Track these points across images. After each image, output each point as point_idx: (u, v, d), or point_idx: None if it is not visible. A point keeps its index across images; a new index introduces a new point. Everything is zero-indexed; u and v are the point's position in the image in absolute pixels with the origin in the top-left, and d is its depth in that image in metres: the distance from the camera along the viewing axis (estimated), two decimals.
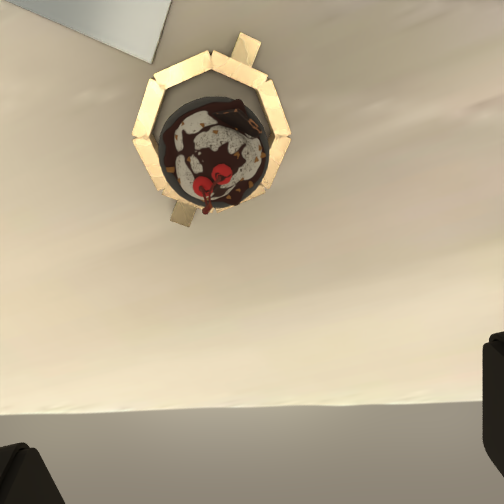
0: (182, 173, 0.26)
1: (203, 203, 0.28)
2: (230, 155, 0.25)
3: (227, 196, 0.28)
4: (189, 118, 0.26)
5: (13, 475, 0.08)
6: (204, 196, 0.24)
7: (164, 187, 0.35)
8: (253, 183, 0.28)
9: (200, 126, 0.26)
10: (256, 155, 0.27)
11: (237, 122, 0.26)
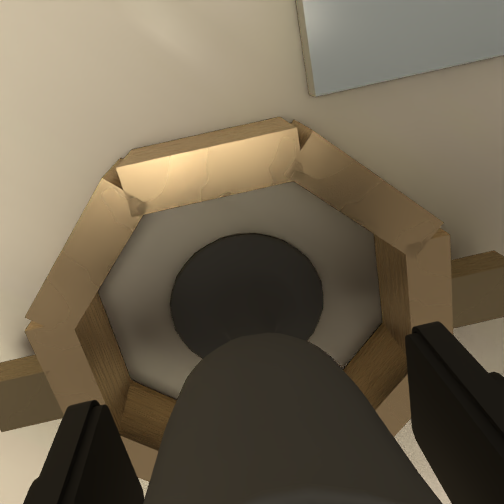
0: None
1: None
2: None
3: None
4: None
5: (92, 426, 0.09)
6: None
7: (47, 326, 0.12)
8: None
9: None
10: None
11: None
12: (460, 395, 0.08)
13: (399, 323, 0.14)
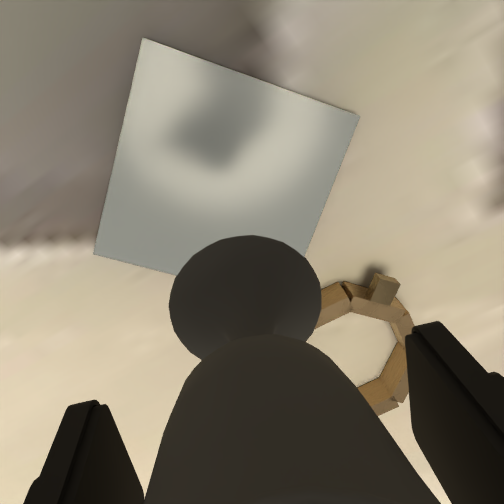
0: None
1: None
2: None
3: None
4: None
5: (92, 426, 0.09)
6: None
7: None
8: None
9: None
10: None
11: None
12: (460, 395, 0.08)
13: None
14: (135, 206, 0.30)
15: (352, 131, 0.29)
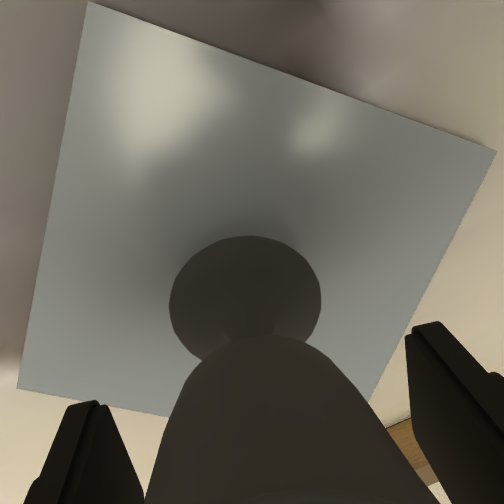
0: None
1: None
2: None
3: None
4: None
5: (92, 426, 0.09)
6: None
7: None
8: None
9: None
10: None
11: None
12: (460, 395, 0.08)
13: None
14: (87, 311, 0.17)
15: (480, 178, 0.16)
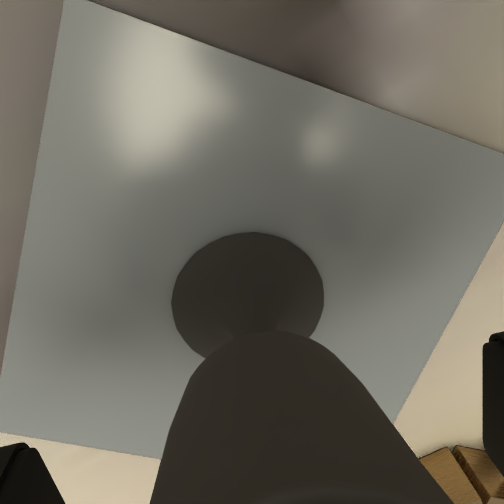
0: None
1: None
2: None
3: None
4: None
5: (13, 475, 0.08)
6: None
7: None
8: None
9: None
10: None
11: None
12: None
13: None
14: (70, 345, 0.15)
15: None
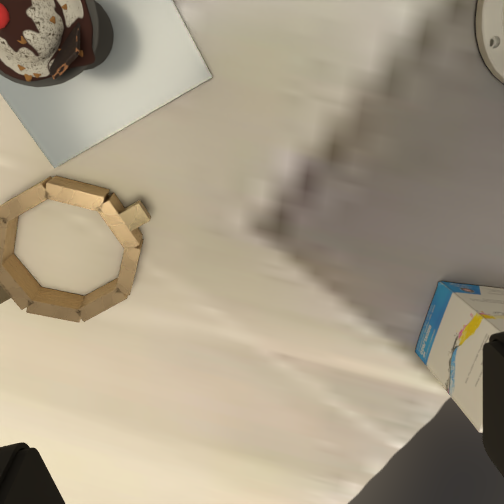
0: None
1: None
2: (21, 31, 0.21)
3: None
4: None
5: (13, 475, 0.08)
6: None
7: None
8: None
9: (62, 3, 0.22)
10: (26, 68, 0.23)
11: (65, 51, 0.22)
12: None
13: None
14: None
15: (199, 82, 0.34)
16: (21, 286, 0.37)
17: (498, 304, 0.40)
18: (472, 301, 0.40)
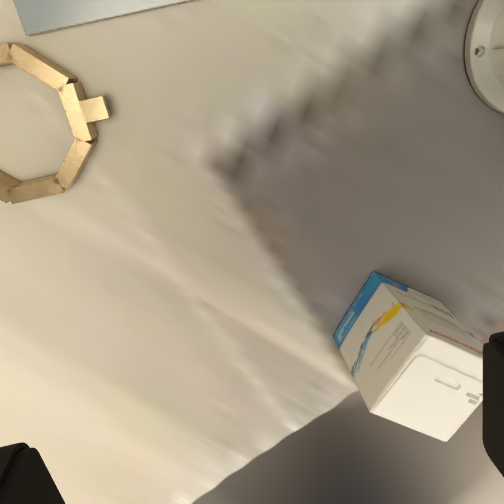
0: None
1: None
2: None
3: None
4: None
5: (13, 475, 0.08)
6: None
7: None
8: None
9: None
10: None
11: None
12: None
13: None
14: None
15: None
16: None
17: (419, 303, 0.42)
18: (397, 293, 0.41)
